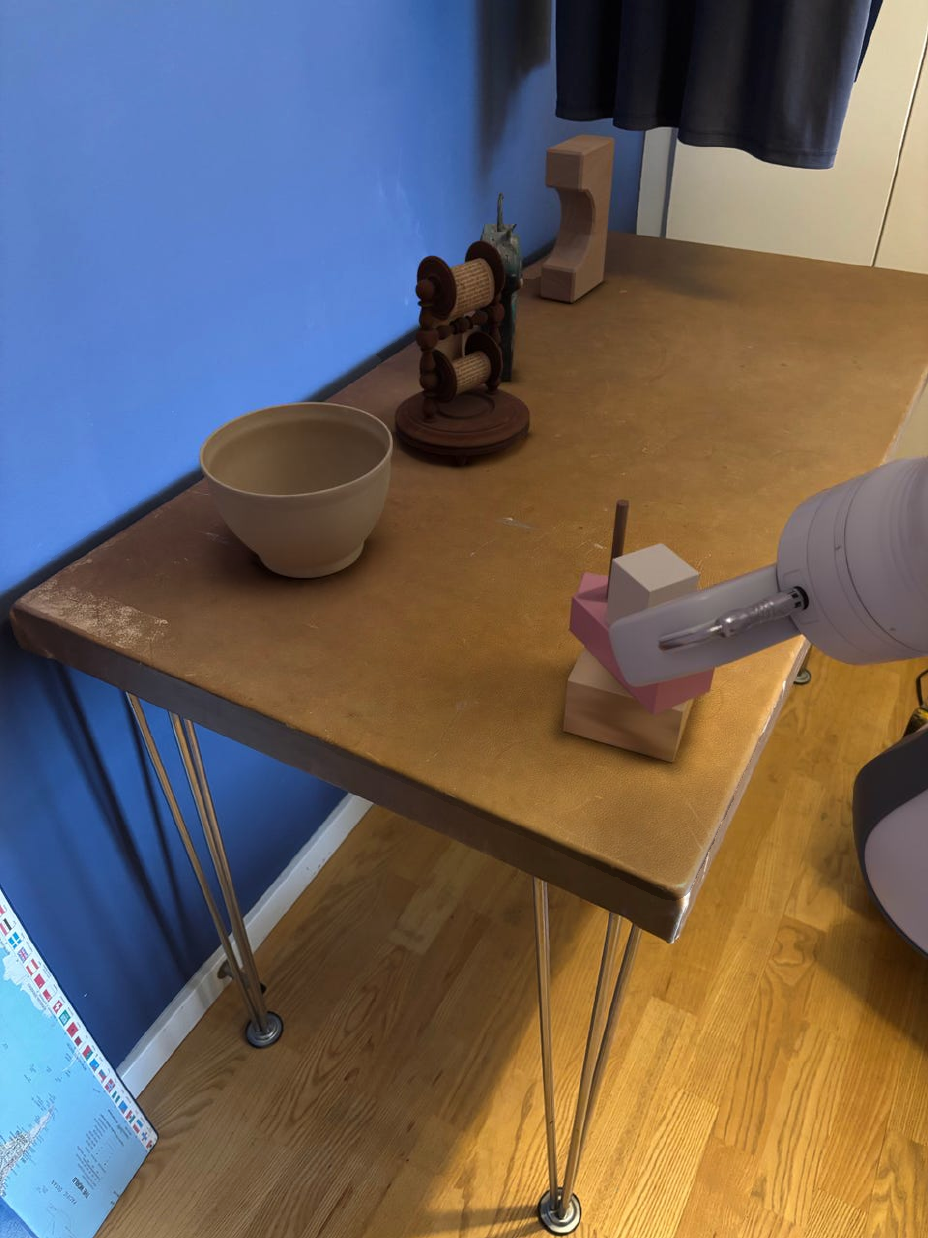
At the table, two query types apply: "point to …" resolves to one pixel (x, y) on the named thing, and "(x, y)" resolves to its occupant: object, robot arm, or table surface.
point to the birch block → (619, 713)
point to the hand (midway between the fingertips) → (708, 617)
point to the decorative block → (578, 215)
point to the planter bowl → (300, 483)
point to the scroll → (461, 361)
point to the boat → (635, 610)
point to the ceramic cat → (506, 284)
